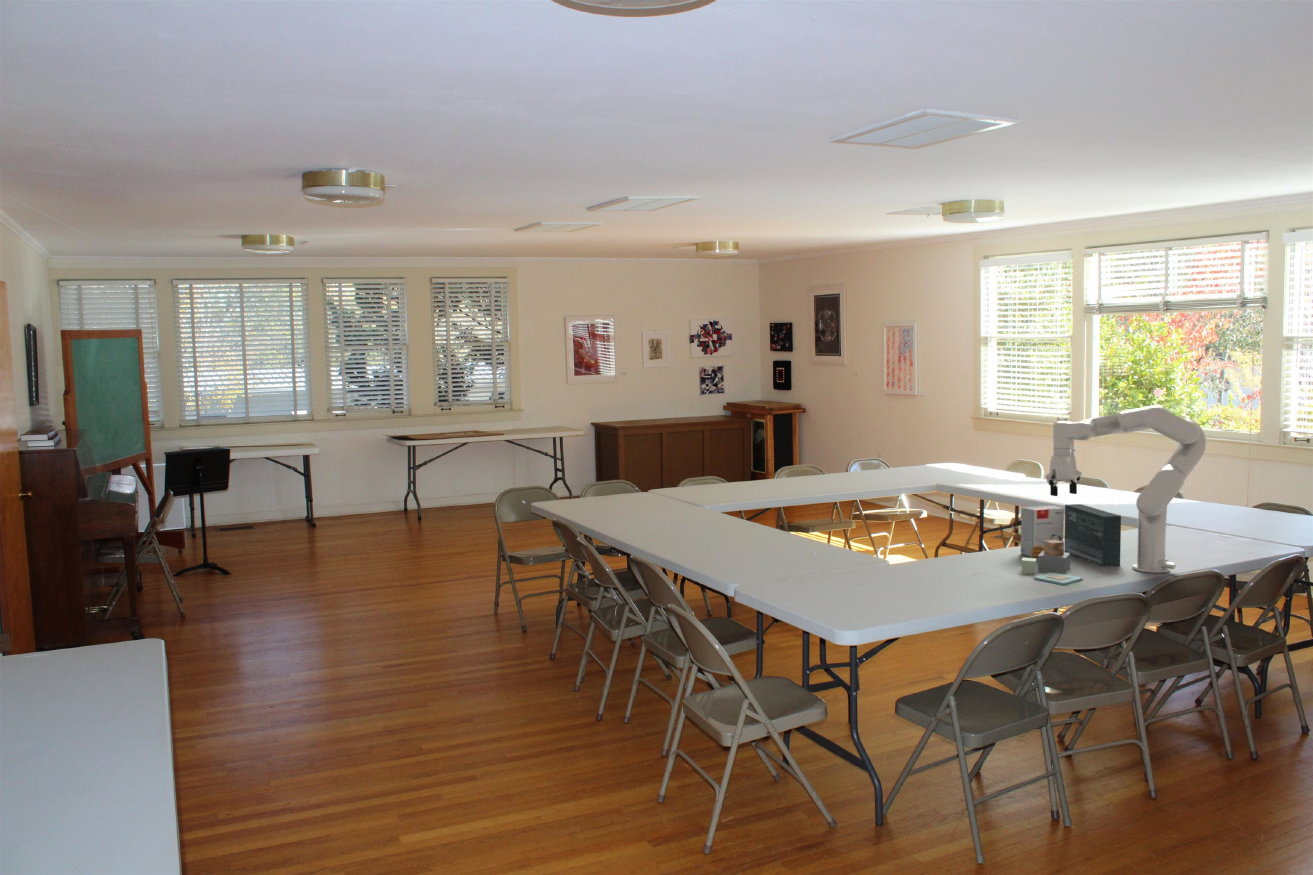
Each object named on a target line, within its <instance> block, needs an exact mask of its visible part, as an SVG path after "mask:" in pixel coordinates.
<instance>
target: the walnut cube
mask: <svg viewBox="0 0 1313 875" xmlns="http://www.w3.org/2000/svg"><path fill="white" fill-rule="evenodd" d="M1064 552H1065V541H1063V542H1061V541H1058V540H1048V541H1044V553H1045V554H1048V555H1051V556H1057V555H1064Z"/></svg>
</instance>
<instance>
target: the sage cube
mask: <svg viewBox="0 0 1313 875" xmlns="http://www.w3.org/2000/svg"><path fill="white" fill-rule="evenodd" d="M1030 573H1034V575H1036V574H1037V557H1022V558H1021V574H1030Z"/></svg>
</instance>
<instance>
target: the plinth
mask: <svg viewBox="0 0 1313 875" xmlns="http://www.w3.org/2000/svg"><path fill="white" fill-rule="evenodd" d="M1070 567H1071V554H1070V553H1067V552H1065V551H1064V555H1057V556H1051V555H1048V554H1045V553H1044V551H1042V552H1041V553H1040V554H1039V555H1038V557H1037V570H1038V571H1043V572H1054V573H1063V572H1064V573H1067V572H1068V571H1069V569H1070ZM1064 573H1063V574H1064Z"/></svg>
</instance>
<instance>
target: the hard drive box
mask: <svg viewBox="0 0 1313 875" xmlns="http://www.w3.org/2000/svg"><path fill="white" fill-rule="evenodd" d="M1020 514H1021V523H1020V524H1021V526H1020V527H1021V528H1020V554H1021V555H1024V556H1027V557H1029V558H1038V555H1039V554H1040V553H1041V552H1042V551H1044V541H1048V540H1058V541H1061V542H1064V528H1065V507H1060V506H1056V505H1041V506H1040V505H1039V506H1022V507H1021V512H1020Z"/></svg>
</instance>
